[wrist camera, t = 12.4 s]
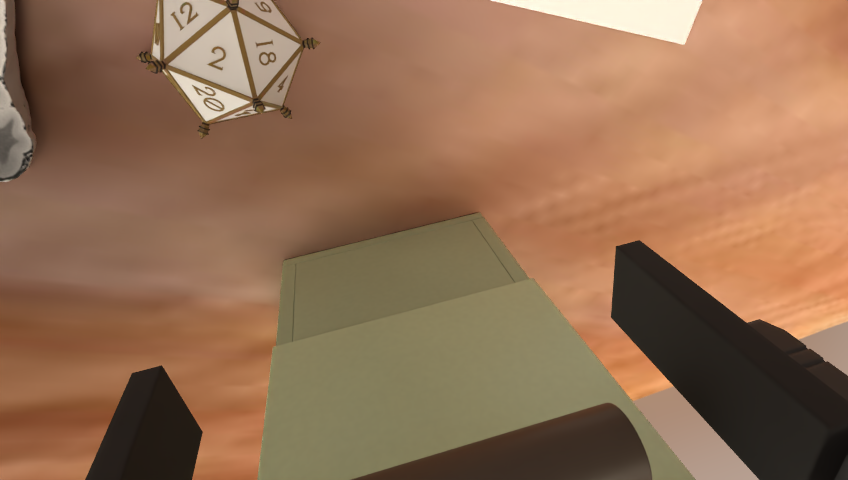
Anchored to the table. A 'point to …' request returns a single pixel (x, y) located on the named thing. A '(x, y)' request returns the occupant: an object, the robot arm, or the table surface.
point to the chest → (391, 276)
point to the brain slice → (12, 103)
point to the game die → (226, 56)
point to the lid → (456, 400)
